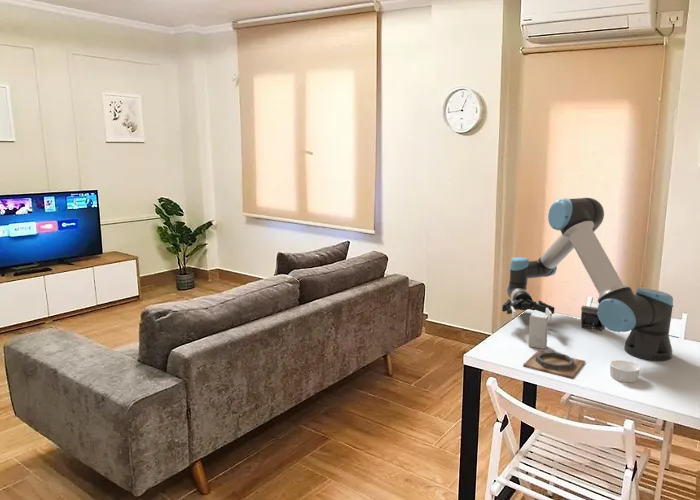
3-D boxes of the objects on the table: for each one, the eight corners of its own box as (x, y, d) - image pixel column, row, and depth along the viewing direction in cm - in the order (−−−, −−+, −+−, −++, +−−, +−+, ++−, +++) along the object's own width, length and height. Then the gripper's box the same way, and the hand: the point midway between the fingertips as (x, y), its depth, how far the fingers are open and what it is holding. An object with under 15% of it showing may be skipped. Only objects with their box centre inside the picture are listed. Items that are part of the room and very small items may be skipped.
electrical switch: (605, 329, 219) (607, 307, 216) (603, 333, 215) (605, 312, 212) (580, 324, 224) (582, 304, 221) (578, 329, 220) (579, 308, 217)
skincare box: (546, 345, 201) (549, 314, 198) (544, 349, 197) (547, 318, 194) (529, 342, 203) (532, 312, 201) (527, 346, 200) (529, 315, 197)
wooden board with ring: (584, 362, 186) (585, 356, 185) (572, 378, 173) (573, 372, 173) (538, 351, 195) (538, 346, 195) (523, 366, 182) (523, 360, 182)
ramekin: (625, 385, 168) (627, 372, 168) (602, 374, 176) (603, 362, 176) (645, 380, 172) (646, 368, 171) (621, 370, 180) (622, 358, 179)
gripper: (551, 309, 228) (564, 326, 208) (491, 306, 231) (498, 323, 210) (552, 292, 227) (566, 308, 206) (492, 289, 229) (500, 305, 209)
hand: (532, 315), depth 208 cm, fingers open, 13 cm apart
